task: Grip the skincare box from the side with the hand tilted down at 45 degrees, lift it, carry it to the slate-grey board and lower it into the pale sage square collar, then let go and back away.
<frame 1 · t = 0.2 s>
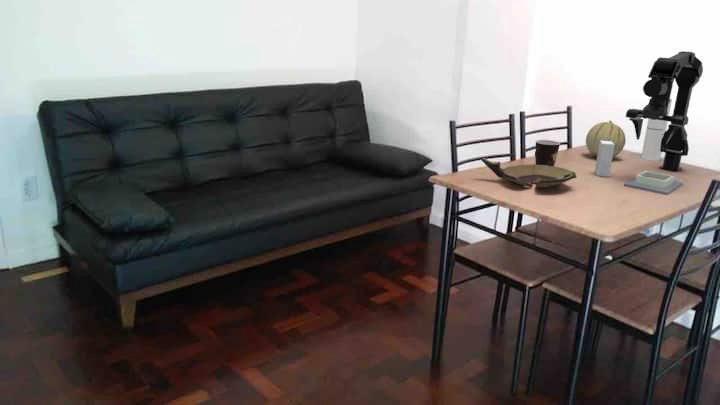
hand: (651, 141, 209), 14 cm above the table, tool pointing down, fingers open, 9 cm apart
skincare box: (601, 175, 221), on the table
coffee mug: (540, 169, 226), on the table
oil lamp: (527, 184, 206), on the table
collar board: (653, 185, 210), on the table
cantaloupe: (602, 158, 247), on the table
cylindrical container: (650, 159, 249), on the table
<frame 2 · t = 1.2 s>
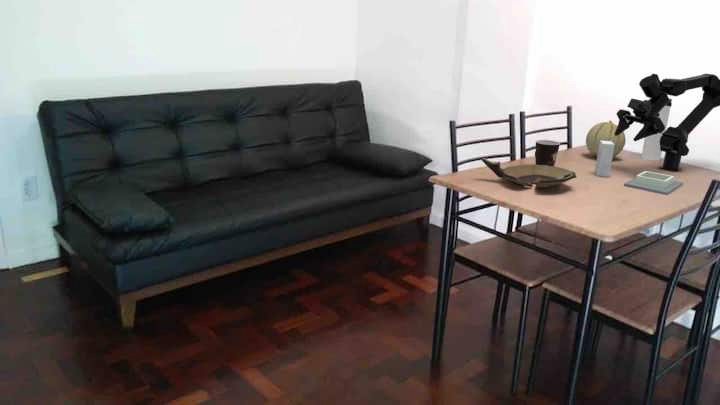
hand: (624, 137, 220), 13 cm above the table, tool tilted 45°, fingers open, 9 cm apart
nothing on the table moved.
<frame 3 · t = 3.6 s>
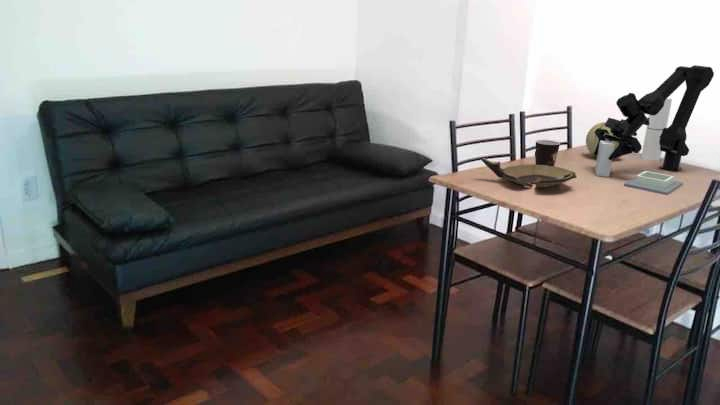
hand: (601, 157, 219), 7 cm above the table, tool tilted 45°, fingers closed on skincare box, 7 cm apart
skincare box: (601, 175, 221), on the table, touching gripper
everything else where it was.
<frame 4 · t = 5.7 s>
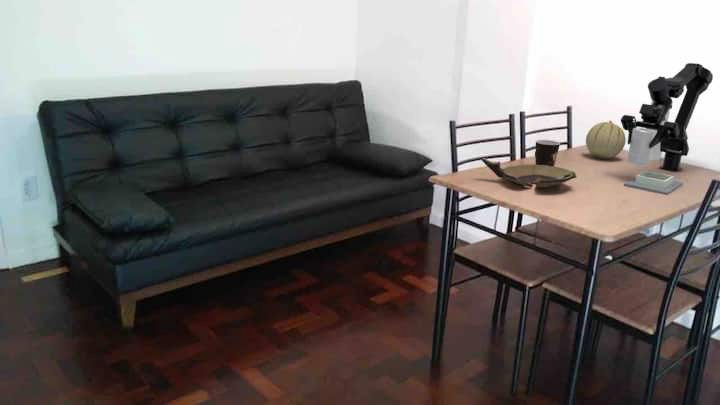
hand: (638, 145, 208), 13 cm above the table, tool tilted 45°, fingers closed on skincare box, 7 cm apart
skincare box: (636, 164, 211), point 6 cm above the table, touching gripper
everything else where it was.
when the fingers open (9 cm above the table, at t = 7.6 s): skincare box drops 2 cm, resting on collar board.
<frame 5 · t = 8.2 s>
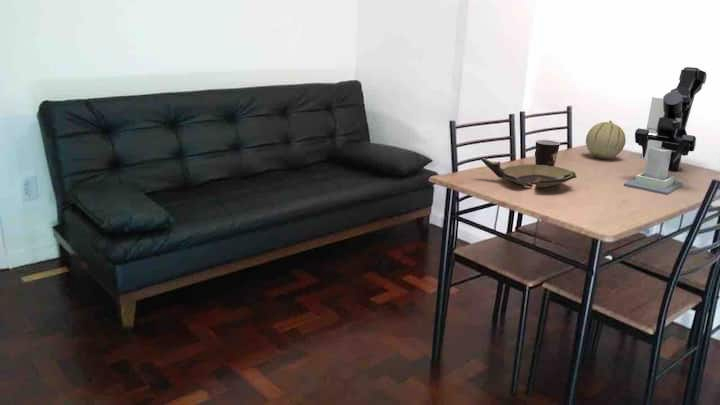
hand: (657, 159, 206), 9 cm above the table, tool tilted 45°, fingers open, 9 cm apart
skincare box: (653, 183, 210), point 1 cm above the table, touching collar board
everything else where it was.
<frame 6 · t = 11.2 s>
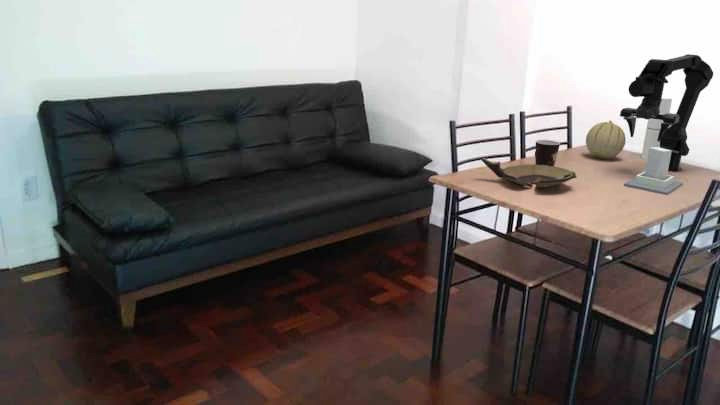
hand: (644, 139, 220), 13 cm above the table, tool pointing down, fingers open, 9 cm apart
nothing on the table moved.
at the end: skincare box 0.2 cm from the collar board (horizontally); skincare box point 0.6 cm above the table; skincare box tilted 0° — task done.
